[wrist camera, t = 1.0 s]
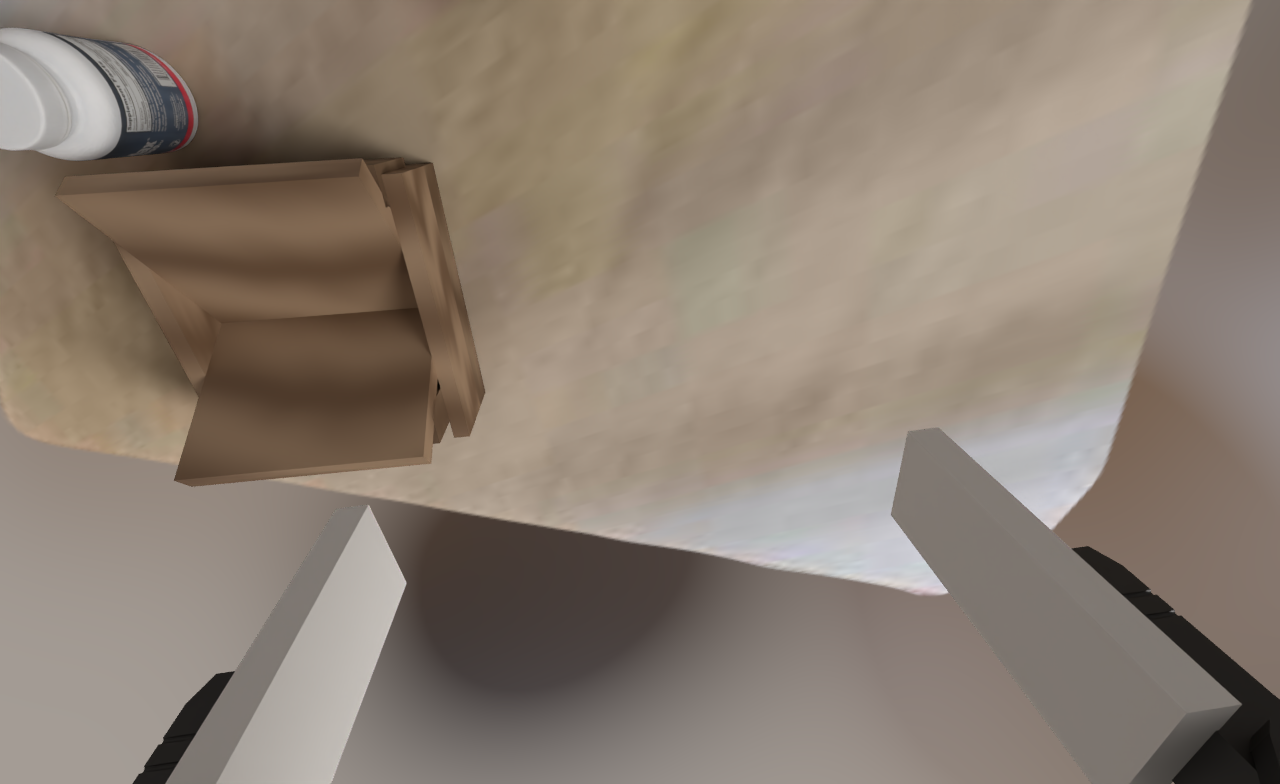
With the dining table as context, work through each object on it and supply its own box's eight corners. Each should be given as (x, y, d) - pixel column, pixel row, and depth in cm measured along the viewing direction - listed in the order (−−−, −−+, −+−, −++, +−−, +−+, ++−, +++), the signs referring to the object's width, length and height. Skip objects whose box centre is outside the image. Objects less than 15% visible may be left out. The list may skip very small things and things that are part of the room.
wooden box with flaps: (166, 162, 29) (-42, 188, 20) (428, 146, 30) (355, 163, 21) (281, 410, 38) (175, 514, 28) (485, 392, 38) (451, 487, 29)
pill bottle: (116, 150, 29) (-55, 164, 21) (70, 40, 26) (-143, 10, 19) (216, 154, 29) (85, 169, 22) (181, 46, 27) (18, 19, 19)
